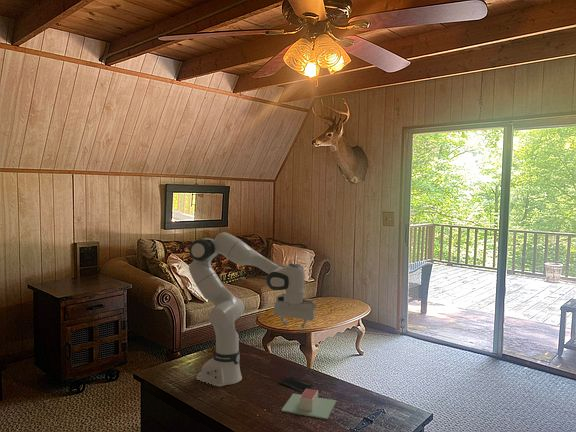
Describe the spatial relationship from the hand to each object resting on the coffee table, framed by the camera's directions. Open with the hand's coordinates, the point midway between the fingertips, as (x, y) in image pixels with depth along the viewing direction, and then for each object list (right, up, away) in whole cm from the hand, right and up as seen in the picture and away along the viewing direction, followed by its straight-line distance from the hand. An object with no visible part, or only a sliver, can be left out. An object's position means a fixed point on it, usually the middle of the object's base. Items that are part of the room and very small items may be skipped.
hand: (294, 326), depth 207 cm
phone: (+1, -29, 0) cm, 29 cm away
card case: (+6, -29, -21) cm, 36 cm away
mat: (+6, -29, -21) cm, 36 cm away
